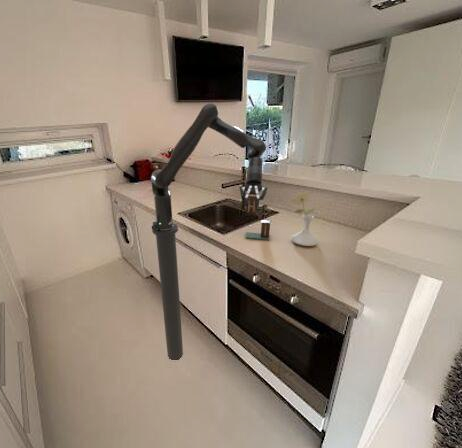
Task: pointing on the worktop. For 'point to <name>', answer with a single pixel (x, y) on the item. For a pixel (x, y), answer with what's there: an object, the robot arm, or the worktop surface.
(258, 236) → the word mat
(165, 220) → the robot arm
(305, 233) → the flower in vase
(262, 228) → the brown white-topped cylinder
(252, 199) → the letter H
